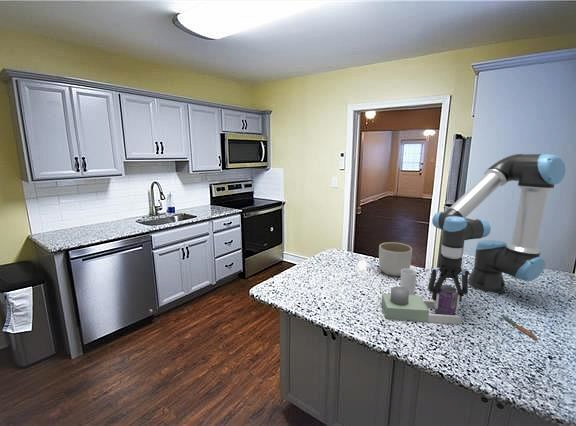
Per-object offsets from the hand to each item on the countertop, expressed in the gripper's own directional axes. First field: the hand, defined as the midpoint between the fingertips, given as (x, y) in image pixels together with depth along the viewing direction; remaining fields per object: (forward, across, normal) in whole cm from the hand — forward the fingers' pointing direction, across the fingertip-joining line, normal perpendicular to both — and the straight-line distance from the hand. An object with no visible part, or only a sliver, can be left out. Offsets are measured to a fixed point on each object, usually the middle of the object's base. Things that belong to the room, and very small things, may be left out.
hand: (445, 307), depth 118 cm
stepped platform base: (+3, +10, 0) cm, 11 cm away
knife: (+4, -24, +5) cm, 25 cm away
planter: (+4, +12, -41) cm, 43 cm away
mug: (+4, +11, -17) cm, 21 cm away
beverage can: (+3, 0, 0) cm, 3 cm away
